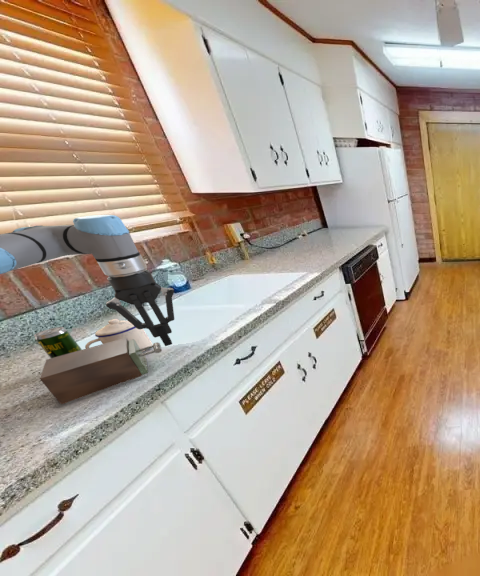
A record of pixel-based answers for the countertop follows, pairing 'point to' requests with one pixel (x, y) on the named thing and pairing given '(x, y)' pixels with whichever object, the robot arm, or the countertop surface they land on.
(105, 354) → the cabinet
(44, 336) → the green soda can
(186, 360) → the countertop surface
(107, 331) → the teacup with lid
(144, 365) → the drawer
